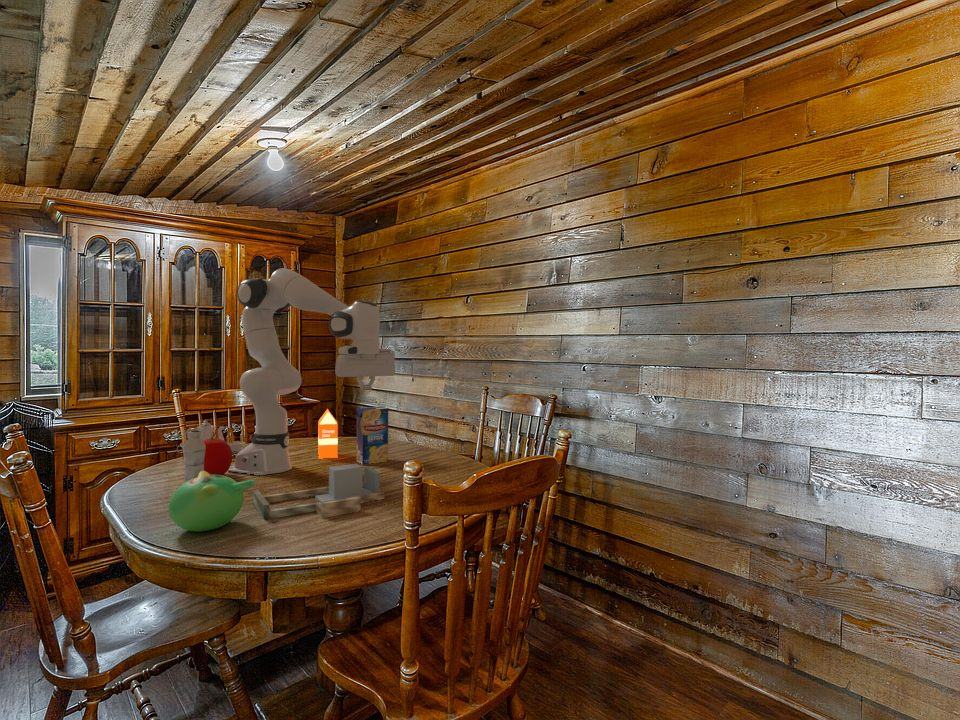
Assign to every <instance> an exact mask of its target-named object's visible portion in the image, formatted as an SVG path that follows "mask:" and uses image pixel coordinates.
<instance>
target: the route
mask: <svg viewBox="0 0 960 720" xmlns="http://www.w3.org/2000/svg"><path fill="white" fill-rule="evenodd" d="M362 488H365V487H364V480H362ZM323 494H329V485H328V486H320V487H316V488H308V489H300V490H295V491H287V492H286V491H285V492H281V493H272V494H267V495H262V493H261V492H260V491H259V489H256V490H252V505H253V507H255V509H256V510H257V512H258V513H259V515H260V516H261V518H262V519H263V521H264V520H269V519H270V520H271V519H275V518H281V517H288V516H294V515H299V514H304V513H313V512H316V513H317V514H318V515H319V516H320V517H321V518H323V519H327V518H329V517H330V518H331V517H338V516H342V514H343V515H348V513H349V514H353V513H352V512H354V513H359V511H360V512H361V504H365V503H364V502H366V503H370V502H369V501H372V502H376V501H375V500H378V501H382V500H381V499H384V500H385V492H384V491H381V492H379V493H372V494H366V495H360V496H354V497H347V498H346V499H340V500H334V501H328V502H322V503H320V502H318V501H317V502H310V503H305V504H299V505H292V506H287V507H280V508H273V509H270V508H271V507H270V504H271V502H272V503H277V502H284V501H283V500H285V501H290V499H291V500H296V498H298V499H303V497H304V498H310V497H309V496H311V497H315V496H316V495H323Z"/></svg>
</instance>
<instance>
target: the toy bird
mask: <svg viewBox="0 0 960 720" xmlns="http://www.w3.org/2000/svg"><path fill="white" fill-rule="evenodd" d="M183 483H184V482H183ZM183 483H182V484H181V485H179V487H178V488H176V490H175V491H174V492H173V494H172V495H171V497H170V499H169V501H168V502H169V503H168V513H169V517H170V519H171V520H172V522H173V523H174V524H175V525H176V526H177V527H179V528H181V529H183V530H185V531H189V532H208V531H211V530H215V529H218V528H219V529H220V528H221V527H223V526H225V525H226V524H227V525H228V523H230V522H231V521H232V520H234V518H235V517H236V516H237V515H238V514H239V512H240V511H241V509H242V507H243V505H244V504H243V503H244V496H245V495H244V493H245V492H246V491H247V490H250V489H251V488H252V487H254V485H256V484H257V479H248V480H243V481H239V482H237V481H236V480H235V479H233V478H231V477H229V476H226V475H210V474H209V473H208V472H206V471H201V472H200V473H199V474H198V477H196V478H193V479H191V480H189V481H187V482H185V483H184V484H183Z"/></svg>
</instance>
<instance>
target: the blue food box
mask: <svg viewBox="0 0 960 720" xmlns="http://www.w3.org/2000/svg"><path fill="white" fill-rule="evenodd" d="M387 461H389V408H388V407H385V406H381V405H380V406H379V405H378V406H366V407H363V406H362V407H356V463H358V462H359V463H358V464H360V463H361V464H360V465H362V466H365V465H364V464H366V465H372V464H371V463H374V464H380V463H379V462H382V463H388V462H387Z"/></svg>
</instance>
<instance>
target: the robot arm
mask: <svg viewBox="0 0 960 720" xmlns="http://www.w3.org/2000/svg"><path fill="white" fill-rule="evenodd" d="M236 293H237V300H238V301H239V303H240V304H241V305H242V306H243V307H244V308H243V309H242V313H241V318H242V329H243V334H244V338H245V343H246V346H247V351H248V354H249V356H250V357H252V359H254V360H256V361H257V362H258V363H259V365H260V366H261V367H255V368H252V369H249V370H246V371H245V372H243V373H242V374H241V377H239V378H240V379H239V388H240V391H241V392H242V393H243V395H245V396H246V397H247V398H248V399H249V400H250V402H251V404H252V406H253V409H254V414H255V432H254V433H253V434H251V435H249V440H251V443H249V444H248V445H247V446H244V449H242V451H240V452H239V453H238V454H237V456H235V460H234V464H233V465H231V466H230V468H229V470H228V471H232V472H239V473H238V474H241V473H247V474H246V475H250V474H254V475H253V476H259V475H260V476H266V475H271V474H279V473H285V472H287V471H290V470H292V469H293V466H292V463H291V458H290V454H289V453H290V452H289V443H290V435H289V434H290V433H289V431H288V412H287V410H286V408H284V407H283V406H281V404H280V402H279V397H278V396H281V395H282V396H283V395H288V394H291V393H293V392H296V391H297V390H298V389H299V388H300V386H302V381H303V379H302V375H301V372H300V371H299V370H298V369H297V368H295V367H294V366H293V365H292V364H291V363H290V362H289V361H288V359H287V358H286V356H285V354H284V353H283V351H282V349H281V346H280V343H279V338H278V334H277V330H276V328H275V324H274V318H273V317H274V314H275V313H276V314H282V312H283V311H284V310H287V309H288V308H290V307H291V306H292V307H294V308H296V309H298V310H301V311H305V312H314V313H320V314H321V313H322V314H327V315H329V316H330V318H329V320H328V329H329V331H330V334H331V335H332V336H333V337H335V338H338V339H348V340H349V339H350V340H352V343H350V344H347V345H343V346H341V347H338V354H339V355H338V356H337V357H336V360H335V367H334V370H335V373H334V374H335V375H336V376H337V377H339V378H353V377H354V378H356V381H357V383H358V385H359V390H360V391H366V390H367V391H372V390H373V384H374V383H375V381H376V377H390V376H391V377H392V376H394V375H395V374H396V365H395V360H396V355H395V351H394V350H392V349H391V348H381V346H380V344H381V343H380V336H379V333H380V329H381V328H380V326H381V325H380V324H381V323H380V322H381V321H380V319H381V318H380V317H381V316H380V309H379V306H378V304H376V303H375V302H372V301H368V300H367V301H366V300H359V299H358V300H355V301H353V303H352V305H349V304H347V303H345V302H344V301H341V299H338V298H337V297H335V296H333V295H331V294H330V293H329V292H327V291H325V290H324V289H323V288H321V287H319V286H318V285H316V283H314V282H312V281H311V280H309V279H308V278H306V277H305V276H303V275H301V274H300V273H298V272H297V271H295V270H291V269H289V268H285V267H282V268H278V269H276V270H275V271H273V272H272V274H271V276H270V278H268V279H267V278H265V279H263V278H261V277H259V278H257V277H256V278H248V279H244V280H243V281H241V283H239V284H238V287H237V290H236ZM364 377H368V380H369V382H368V383H367V384H364V383H363V379H364ZM228 471H227V472H228ZM232 472H231V473H232Z"/></svg>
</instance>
